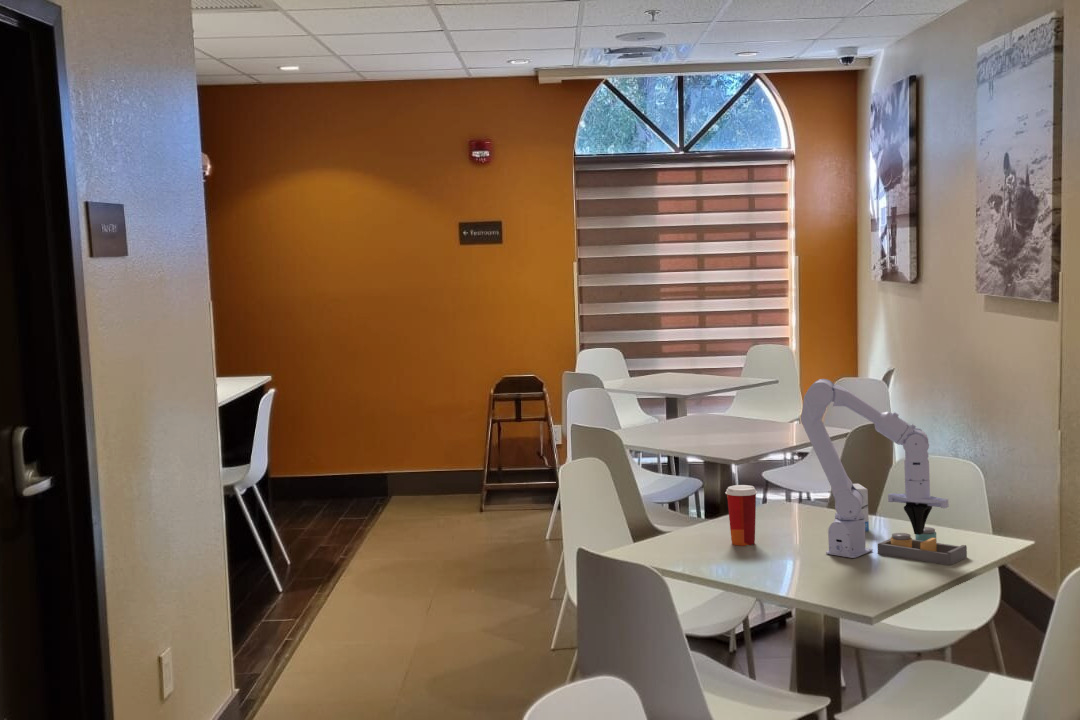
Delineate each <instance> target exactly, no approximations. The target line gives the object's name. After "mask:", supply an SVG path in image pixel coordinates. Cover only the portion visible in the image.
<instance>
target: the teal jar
mask: <svg viewBox="0 0 1080 720" xmlns="http://www.w3.org/2000/svg"><path fill="white" fill-rule="evenodd" d="M914 535H915V536H914V537H915V539H914V540H921V541H926V540H928V539H930V538H936V543H938V542H937V532H936V528H934V527H927V526H925V527H924V532H923V534H921V535H917V534H914Z"/></svg>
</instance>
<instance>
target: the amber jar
mask: <svg viewBox="0 0 1080 720" xmlns="http://www.w3.org/2000/svg"><path fill="white" fill-rule="evenodd" d="M911 536H912V535H911V534H910V533H907V532H894V533H892V534H891V537H890V539H891V545H896V546H902V547H909V548H912V539H913V538H912V537H911Z"/></svg>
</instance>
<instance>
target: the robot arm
mask: <svg viewBox="0 0 1080 720" xmlns="http://www.w3.org/2000/svg"><path fill="white" fill-rule="evenodd" d="M832 402H833V403H832ZM831 403H832V407H844V408H845V407H846V408H847V409H849V410H850V411H853V413H856V414H858V415H859V416H861V417H863V418H865V419H866V420H868V421H870V422H871V423H873V424H874V430H875V431H876V432H877V433H879V434H881V435H882V436H883V437H885V438H887V439H888V440H890V441H891V442H893V443H895V444H897V445H901V446H902V447H903V449H904V454H905V457H904V458H905V459H904V460H903V461H904V467H903V468H904V492H905V493H897V492H896V493H895V492H894V493H893V492H891V493H889V494H888V495H887V497H888V498H887V499H888V501H887V502H888V503H901V504H905V505H904V506H903V510H904V512H905V513H906V514H907V516H908V518H909V521H910V524H911V526H912V530H913V534H914V535H915V534H917V535H921V534H923V532H924V527H926V522H927V519H928V517H929V515H930V512H931V511H932V510H933V507H935V508H941V509H947V508H949V498H948V499H947V498H942V497H938V496H933V495H931V487H930V486H931V485H930V484H931V483H930V482H931V481H930V477H931V476H930V461H929V460H930V459H929V452H928V450H929V449H930V444H929V437H928V435H927V434H926V433H925V432H924V431H923V429H921V428H917V426H916V425H915V424H914V423H912V424H910V423H909V422H906V421H905V420H903V419H902V418H900V417H899V415H900V414H899V413H897V412H896V411H894V412H893V413H892V412H891V411H884V412H881V411H880V410H878V409H877V408H876V407H874V406H872V405H871V404H869V403H868V402H867V401H865V400H864V399H862V398H860V397H859V396H857V395H856V394H855V393H853V392H851V391H850V390H848V389H847V388H845V387H843V386H841V385H839V384H837V383H835V384H834V382H832V381H831V380H829V379H827V378H820V379H817V380H815V381H814V382H813V383H812V384H811V385H810V386H809V387H808V389H807V391H806V393H805V394H804V397H803V404H802V408H801V409H802V411H801V415H800V423H801V424H802V426H803V428H804V431H805V434H806V436H807V437H808V439H809V442H810V443H811V446H812V448H813V450H814V453H815V455H816V457H817V459H818V461H819V463H820V466H821V467H822V469H823V473H824V474H825V477H826V478H827V481H828V483H829V485H830V488H831V493H832V496H833V499H834V507H835V508H834V509H835V511H836V513H834V520H833V522H832V523H831V524H830V525H829V527H828V529H827V530H828V531H827V533H828V534H827V535H828V550H827V551H825V554H827V555H834V556H839V557H844V558H851V559H856V558H859V557H860V556H863V555H866V554H868V553H870V552H873V548H871V547H870V548H869V547H867V546H866V531H865V515H864V514H863V513H862V512H861V508H862V505H863V496H862V494H861V492H860V491H858V490H857V489H856V488H855V487H854V485H853V484H854V483H853V482H852V480H851V479H850V477H849V476H848V474H847V471H846V470H845V468H844V465H843V464H842V461H841V458H840V456H839V454H838V452H837V449H836V448H835V446H834V443H833V441H832V439H831V438H830V435H829V433H828V431H827V428H826V426H825V424H824V422H823V420H822V419H823V417H824V416H825V415H824V414H825V412H826V411H827V410H826V409H827V408H828V407H829V406H830V404H831Z"/></svg>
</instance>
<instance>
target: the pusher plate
mask: <svg viewBox="0 0 1080 720" xmlns="http://www.w3.org/2000/svg"><path fill="white" fill-rule="evenodd" d="M936 540H937V537H936V538H930V539H928V540H926V541H923V542H921V543H920V549H922V550H929V551H935V552H937V543H938V542H937V543H936Z"/></svg>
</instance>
